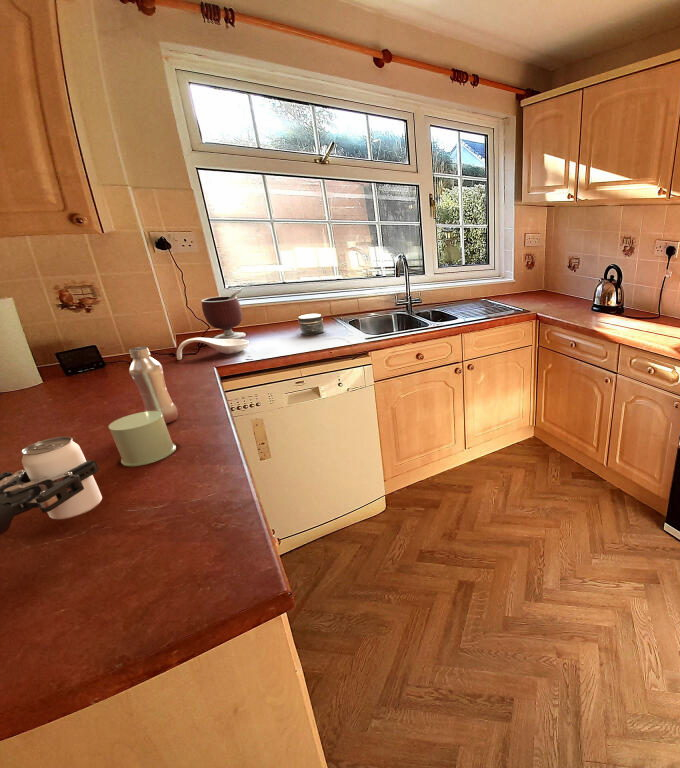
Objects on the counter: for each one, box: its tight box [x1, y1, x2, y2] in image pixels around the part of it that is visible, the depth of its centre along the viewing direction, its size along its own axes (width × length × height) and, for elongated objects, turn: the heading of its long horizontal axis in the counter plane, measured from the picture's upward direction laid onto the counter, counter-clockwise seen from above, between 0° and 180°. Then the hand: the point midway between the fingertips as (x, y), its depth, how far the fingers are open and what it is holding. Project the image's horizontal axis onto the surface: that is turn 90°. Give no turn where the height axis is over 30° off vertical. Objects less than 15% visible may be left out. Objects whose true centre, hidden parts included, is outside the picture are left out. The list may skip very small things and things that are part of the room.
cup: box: [108, 411, 177, 467], centre depth 93 cm, size 10×10×9 cm
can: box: [20, 436, 103, 521], centre depth 68 cm, size 6×6×12 cm
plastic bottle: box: [128, 346, 179, 425], centre depth 106 cm, size 6×7×20 cm
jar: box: [297, 313, 325, 336], centre depth 192 cm, size 10×10×8 cm
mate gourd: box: [201, 290, 247, 339], centre depth 184 cm, size 16×14×20 cm
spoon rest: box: [176, 337, 250, 361], centre depth 163 cm, size 24×12×7 cm, turn 123°
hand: (75, 464), depth 70 cm, fingers closed on can, 6 cm apart
